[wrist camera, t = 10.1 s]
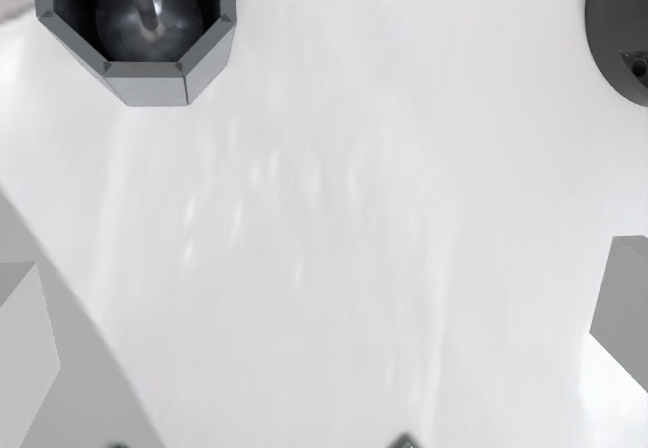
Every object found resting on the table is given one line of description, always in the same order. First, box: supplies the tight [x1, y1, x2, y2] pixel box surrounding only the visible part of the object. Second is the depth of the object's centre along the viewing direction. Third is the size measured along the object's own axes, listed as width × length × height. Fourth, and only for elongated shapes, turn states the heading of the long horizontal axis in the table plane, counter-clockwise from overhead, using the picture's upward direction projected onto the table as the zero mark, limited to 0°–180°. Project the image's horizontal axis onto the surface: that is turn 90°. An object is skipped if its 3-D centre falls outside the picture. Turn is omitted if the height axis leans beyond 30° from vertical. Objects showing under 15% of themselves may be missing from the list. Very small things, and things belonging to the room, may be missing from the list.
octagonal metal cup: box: [35, 0, 237, 106], centre depth 32 cm, size 10×10×10 cm
